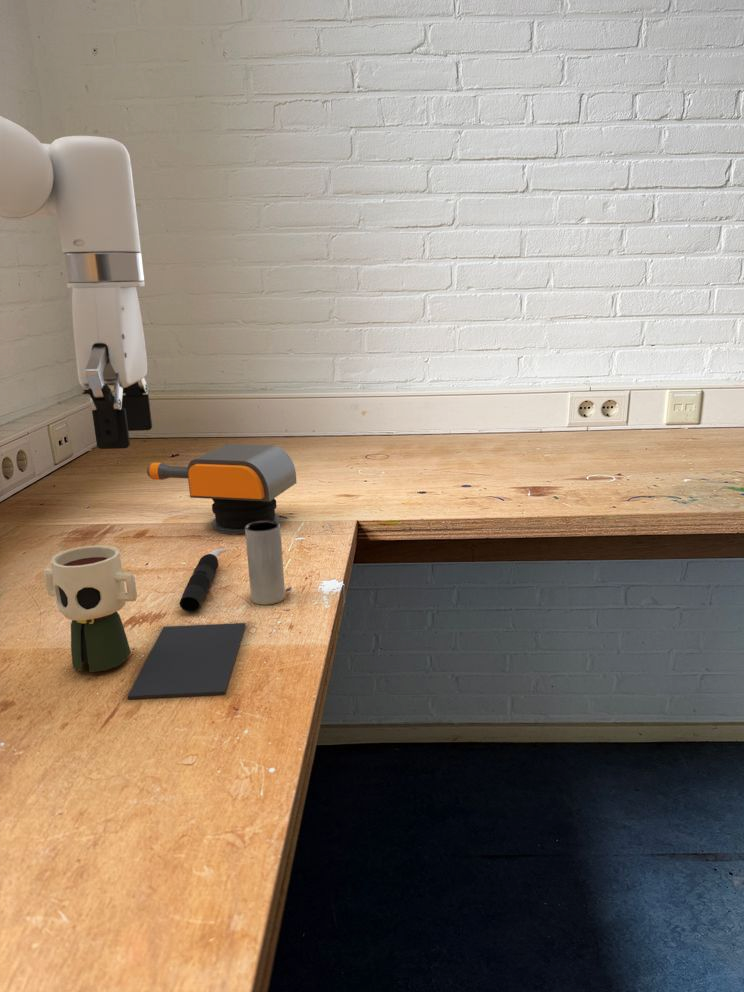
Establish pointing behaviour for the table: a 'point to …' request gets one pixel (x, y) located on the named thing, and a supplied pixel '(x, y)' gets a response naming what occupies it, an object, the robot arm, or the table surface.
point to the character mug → (92, 603)
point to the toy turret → (236, 482)
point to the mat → (189, 661)
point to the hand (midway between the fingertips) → (126, 438)
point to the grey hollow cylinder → (265, 562)
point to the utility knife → (200, 581)
